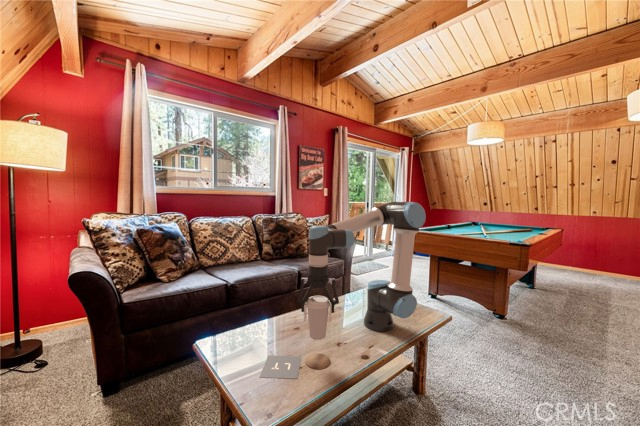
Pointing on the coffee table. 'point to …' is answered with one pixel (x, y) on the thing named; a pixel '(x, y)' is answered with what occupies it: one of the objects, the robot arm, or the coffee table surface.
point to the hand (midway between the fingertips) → (317, 320)
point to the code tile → (281, 367)
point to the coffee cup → (318, 316)
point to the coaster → (317, 361)
